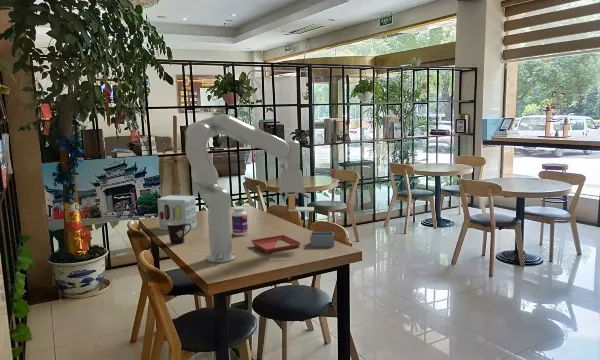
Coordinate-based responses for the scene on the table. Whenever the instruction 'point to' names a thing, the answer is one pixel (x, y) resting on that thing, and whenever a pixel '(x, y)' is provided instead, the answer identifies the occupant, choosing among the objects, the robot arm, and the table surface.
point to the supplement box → (177, 211)
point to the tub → (322, 239)
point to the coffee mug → (177, 232)
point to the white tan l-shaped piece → (293, 208)
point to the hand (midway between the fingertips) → (292, 206)
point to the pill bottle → (239, 221)
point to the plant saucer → (274, 243)
